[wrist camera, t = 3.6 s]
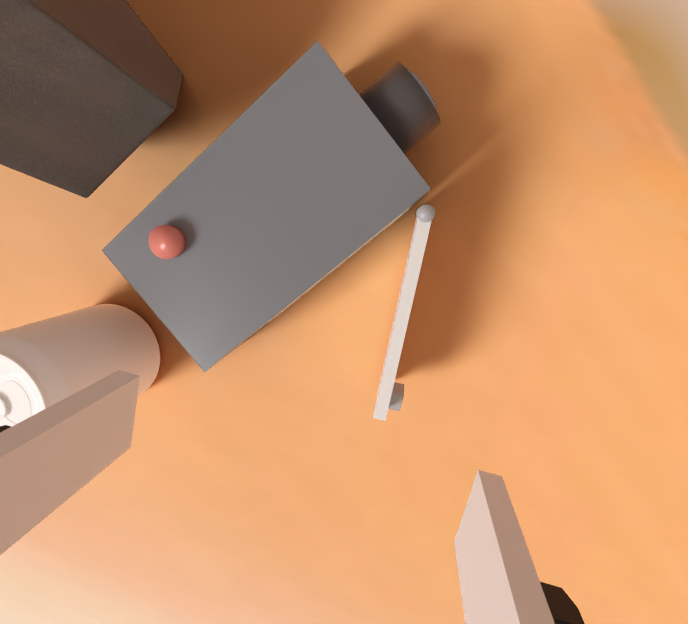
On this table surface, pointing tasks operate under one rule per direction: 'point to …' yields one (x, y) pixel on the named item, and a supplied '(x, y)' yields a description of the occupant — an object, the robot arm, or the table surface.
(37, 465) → the robot arm
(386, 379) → the door
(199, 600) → the table surface
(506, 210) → the table surface
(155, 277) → the camcorder
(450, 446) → the table surface
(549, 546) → the table surface
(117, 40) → the grey bevelled block
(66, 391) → the beverage can
